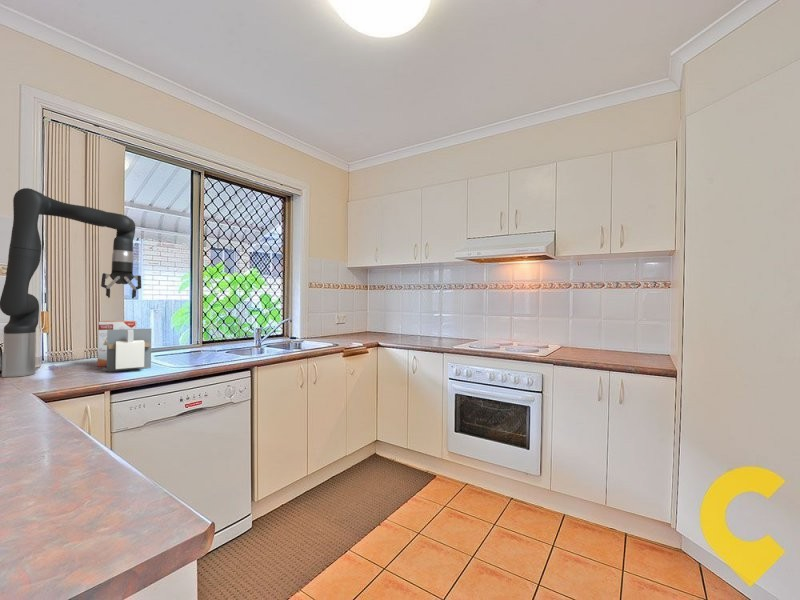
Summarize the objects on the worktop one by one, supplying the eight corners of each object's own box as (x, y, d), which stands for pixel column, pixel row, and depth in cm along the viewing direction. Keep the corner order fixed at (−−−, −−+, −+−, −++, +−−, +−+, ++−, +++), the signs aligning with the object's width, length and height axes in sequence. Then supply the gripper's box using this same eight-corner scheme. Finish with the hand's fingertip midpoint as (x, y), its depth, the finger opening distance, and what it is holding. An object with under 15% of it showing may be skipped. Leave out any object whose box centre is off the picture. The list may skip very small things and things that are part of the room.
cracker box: (97, 367, 172) (97, 321, 172) (99, 365, 178) (100, 320, 177) (134, 365, 180) (135, 321, 179) (135, 363, 185) (136, 320, 185)
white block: (115, 369, 160) (116, 331, 159) (115, 365, 166) (115, 329, 165) (144, 366, 166) (144, 330, 165) (142, 363, 172) (143, 328, 171)
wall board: (106, 372, 162) (107, 330, 162) (106, 369, 168) (107, 329, 168) (151, 368, 172) (151, 329, 172) (149, 366, 178) (150, 327, 178)
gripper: (101, 259, 160) (100, 297, 160) (142, 262, 168) (141, 298, 168) (102, 260, 166) (100, 297, 166) (141, 263, 174) (140, 298, 174)
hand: (121, 297), depth 167 cm, fingers open, 8 cm apart
